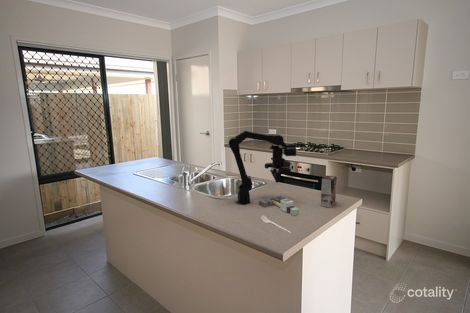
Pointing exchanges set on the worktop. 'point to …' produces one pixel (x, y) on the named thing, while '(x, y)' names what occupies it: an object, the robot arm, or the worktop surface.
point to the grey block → (285, 204)
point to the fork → (273, 223)
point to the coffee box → (328, 191)
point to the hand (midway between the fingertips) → (277, 182)
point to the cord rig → (278, 204)
